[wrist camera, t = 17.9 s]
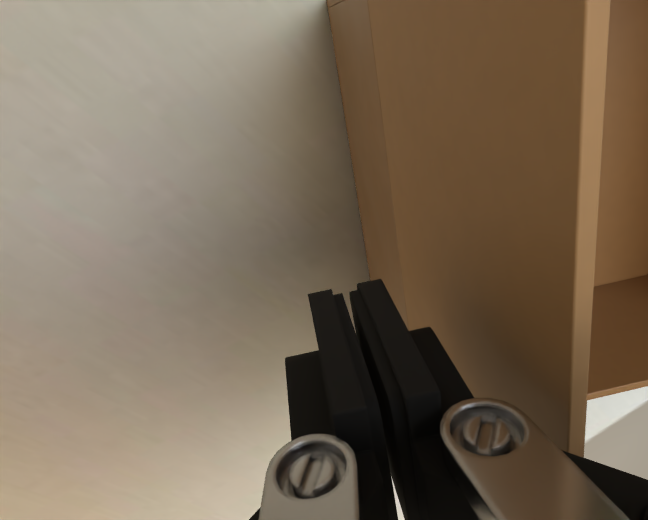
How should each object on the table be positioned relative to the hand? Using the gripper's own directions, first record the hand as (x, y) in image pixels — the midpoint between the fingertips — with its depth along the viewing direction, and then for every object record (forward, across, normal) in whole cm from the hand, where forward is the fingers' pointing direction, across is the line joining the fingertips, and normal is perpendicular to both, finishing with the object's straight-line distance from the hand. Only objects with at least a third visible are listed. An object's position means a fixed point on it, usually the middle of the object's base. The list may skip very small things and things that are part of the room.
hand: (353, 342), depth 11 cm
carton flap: (0, -3, 0) cm, 3 cm away
